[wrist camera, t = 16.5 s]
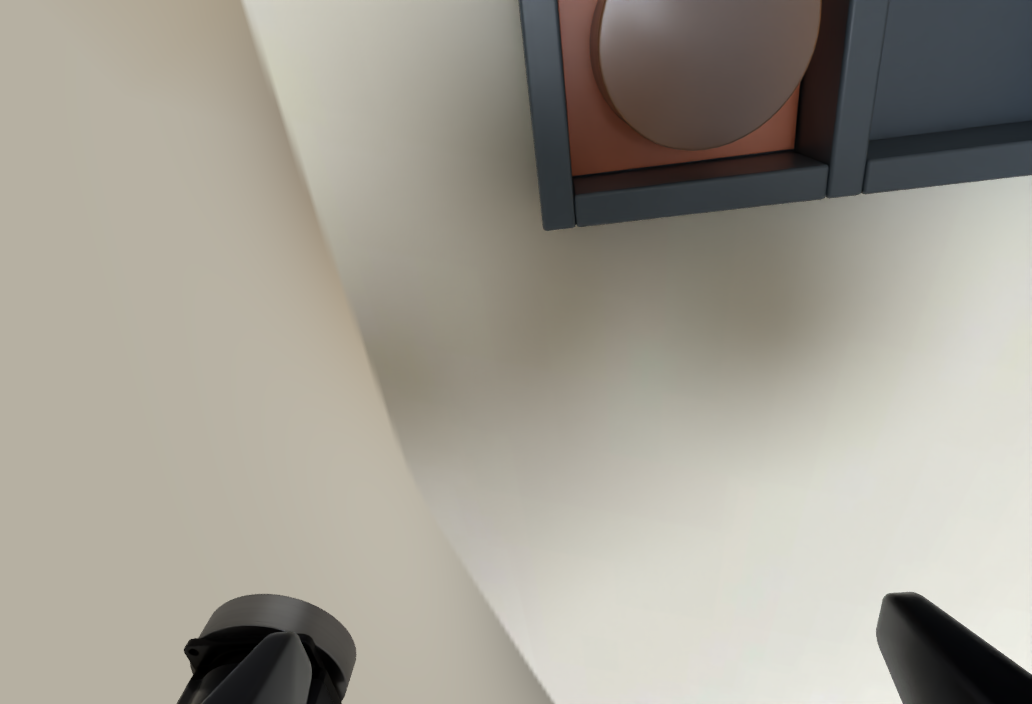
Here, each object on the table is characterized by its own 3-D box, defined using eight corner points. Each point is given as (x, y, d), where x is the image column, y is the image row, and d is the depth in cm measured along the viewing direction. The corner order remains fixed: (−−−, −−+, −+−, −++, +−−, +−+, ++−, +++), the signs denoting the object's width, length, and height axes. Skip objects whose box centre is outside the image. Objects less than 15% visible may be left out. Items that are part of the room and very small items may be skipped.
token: (595, 147, 15) (604, 163, 13) (582, -58, 13) (590, -80, 11) (771, 124, 14) (810, 136, 12) (786, -92, 12) (836, -122, 10)
